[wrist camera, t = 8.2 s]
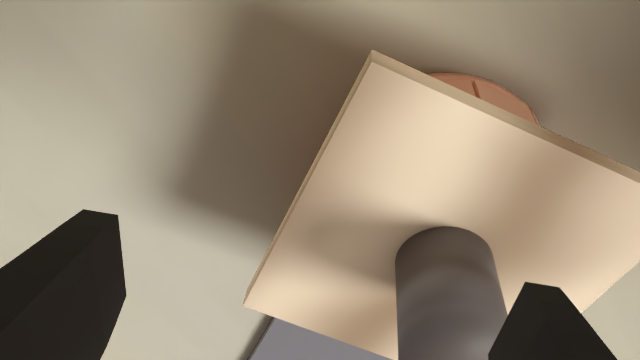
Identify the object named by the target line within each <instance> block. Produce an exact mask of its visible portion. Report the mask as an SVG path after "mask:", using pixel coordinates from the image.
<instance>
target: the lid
mask: <svg viewBox="0 0 640 360" xmlns="http://www.w3.org/2000/svg"><path fill="white" fill-rule="evenodd" d="M639 261H640V172H639V171H636V170H634V169H632V168H630V167H628V166H625V165H623V164H621V163H619V162H617V161H615V160H612V159H610V158H608V157H606V156H604V155H601V154H599V153H597V152H595V151H593V150H591V149H588V148H586V147H584V146H582V145H580V144H577V143H575V142H573V141H571V140H569V139H567V138H564V137H562V136H560V135H558V134H556V133H553V132H551V131H549V130H547V129H545V128H543V127H540V126H538V125H536V124H534V123H532V122H529V121H527V120H525V119H523V118H521V117H518V116H516V115H514V114H512V113H510V112H508V111H505V110H503V109H501V108H499V107H497V106H494V105H492V104H490V103H488V102H486V101H484V100H481V99H479V98H477V97H475V96H473V95H470V94H468V93H466V92H464V91H462V90H460V89H457V88H455V87H453V86H451V85H449V84H446V83H444V82H442V81H440V80H438V79H436V78H433V77H431V76H429V75H427V74H425V73H422V72H420V71H418V70H416V69H414V68H412V67H409V66H407V65H405V64H403V63H401V62H398V61H396V60H394V59H392V58H390V57H387V56H385V55H383V54H381V53H379V52H377V51H374V50H371V52H370V54H369V56H368V58H367V60H366V62H365V64H364V66H363V68H362V69H361V71H360V73H359V75H358V77H357V79H356V81H355V83H354V85H353V87H352V89H351V91H350V93H349V94H348V96H347V98H346V100H345V102H344V104H343V106H342V108H341V110H340V112H339V114H338V116H337V117H336V119H335V121H334V123H333V125H332V127H331V129H330V131H329V133H328V135H327V137H326V139H325V141H324V142H323V144H322V146H321V148H320V150H319V152H318V154H317V156H316V158H315V160H314V162H313V164H312V166H311V167H310V169H309V171H308V173H307V175H306V177H305V179H304V181H303V183H302V185H301V187H300V189H299V191H298V192H297V194H296V196H295V198H294V200H293V202H292V204H291V206H290V208H289V210H288V212H287V214H286V216H285V217H284V219H283V221H282V223H281V225H280V227H279V229H278V231H277V233H276V235H275V237H274V239H273V240H272V242H271V244H270V246H269V248H268V250H267V252H266V254H265V256H264V258H263V260H262V262H261V264H260V265H259V267H258V269H257V271H256V273H255V275H254V277H253V279H252V281H251V283H250V285H249V287H248V289H247V292H246V295H245V299H244V303H243V306H244V307H247V308H250V309H253V310H255V311H258V312H261V313H264V314H267V315H269V316H272V317H275V318H278V319H281V320H283V321H286V322H289V323H292V324H295V325H297V326H300V327H303V328H306V329H309V330H311V331H314V332H317V333H320V334H323V335H325V336H328V337H331V338H334V339H337V340H339V341H342V342H345V343H348V344H351V345H353V346H356V347H359V348H362V349H365V350H367V351H370V352H373V353H376V354H379V355H381V356H384V357H387V358H390V359H393V360H488V353H489V351H490V349H491V347H492V345H493V344H494V342H495V340H496V338H497V336H498V334H499V332H500V330H501V328H502V326H503V324H504V322H505V320H506V318H507V316H508V314H509V312H510V310H511V308H512V306H513V304H514V302H515V300H516V299H517V297H518V295H519V293H520V291H521V289H522V287H523V285H524V283H525V282H530V283H537V284H543V285H549V286H555V287H560V288H561V290H562V291H563V292H564V293H565V294H566V296H567V297H568V298H569V299H570V300H571V302H572V303H573V304H574V305H575V307H576V308H577V309H578V310H579V312H580V313H582V312H583V311H584V310H585V309H586V308H588V307H589V306H590V305H591V304H592V303H593V302H594V301H595V300H597V299H598V298H599V297H600V296H601V295H602V294H603V293H604V292H605V291H607V290H608V289H609V288H610V287H611V286H612V285H613V284H614V283H616V282H617V281H618V280H619V279H620V278H621V277H622V276H623V275H625V274H626V273H627V272H628V271H629V270H630V269H631V268H632V267H633V266H635V265H636V264H637V263H638V262H639Z"/></svg>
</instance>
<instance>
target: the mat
mask: <svg viewBox="0 0 640 360" xmlns="http://www.w3.org/2000/svg"><path fill="white" fill-rule="evenodd" d="M248 360H393V359H390V358H387V357H384V356H381V355H379V354H376V353H373V352H370V351H367V350H365V349H362V348H359V347H356V346H353V345H351V344H348V343H345V342H342V341H339V340H337V339H334V338H331V337H328V336H325V335H323V334H320V333H317V332H314V331H311V330H309V329H306V328H303V327H300V326H297V325H295V324H292V323H289V322H286V321H283V320H281V319H278V318H275V317H273V319H272V320H271V322H270V324H269V325H268V327H267V329H266V330H265V332H264V334H263V335H262V337H261V339H260V340H259V342H258V343H257V345H256V347H255V348H254V350H253V352H252V353H251V355H250V357H249V358H248Z"/></svg>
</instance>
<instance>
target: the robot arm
mask: <svg viewBox="0 0 640 360" xmlns="http://www.w3.org/2000/svg"><path fill="white" fill-rule="evenodd" d="M125 298H126V288H125V279H124V269H123V259H122V250H121V240H120V231H119V221H118V215H114V214H108V213H102V212H96V211H90V210H84V209H83V210H82V211H80V212H79V213H78V214H76V215H75V216H73V217H72V218H70V219H69V220H68V221H66V222H65V223H63V224H62V225H60V226H59V227H58V228H56V229H55V230H53V231H52V232H51V233H49V234H48V235H47V236H45V237H44V238H42V239H41V240H40V241H38V242H37V243H36V244H34V245H33V246H31V247H30V248H29V249H27V250H26V251H24V252H23V253H22V254H20V255H19V256H17V257H16V258H15V259H13V260H12V261H10V262H9V263H8V264H6V265H5V266H3V267H2V268H0V360H100V358H101V356H102V355H103V353H104V351H105V349H106V347H107V344H108V342H109V339H110V337H111V334H112V332H113V329H114V327H115V324H116V322H117V319H118V316H119V314H120V311H121V308H122V306H123V303H124V300H125ZM488 360H617V359H616V357H615V356H614V355H613V354H612V352H611V351H610V350H609V349H608V347H607V346H606V345H605V344H604V342H603V341H602V340H601V338H600V337H599V336H598V335H597V333H596V332H595V331H594V330H593V328H592V327H591V326H590V324H589V323H588V322H587V321H586V319H585V318H584V317H583V316H582V314H581V313H580V312H579V310H578V309H577V308H576V307H575V305H574V304H573V303H572V302H571V300H570V299H569V298H568V297H567V296H566V294H565V293H564V292H563V291H562V290H561V288H560V287H555V286H549V285H543V284H537V283H530V282H525V283H524V285H523V287H522V289H521V291H520V293H519V295H518V297H517V299H516V300H515V302H514V304H513V306H512V308H511V310H510V312H509V314H508V316H507V318H506V320H505V322H504V324H503V326H502V328H501V330H500V332H499V334H498V336H497V338H496V340H495V342H494V344H493V345H492V347H491V349H490V351H489V353H488Z"/></svg>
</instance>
